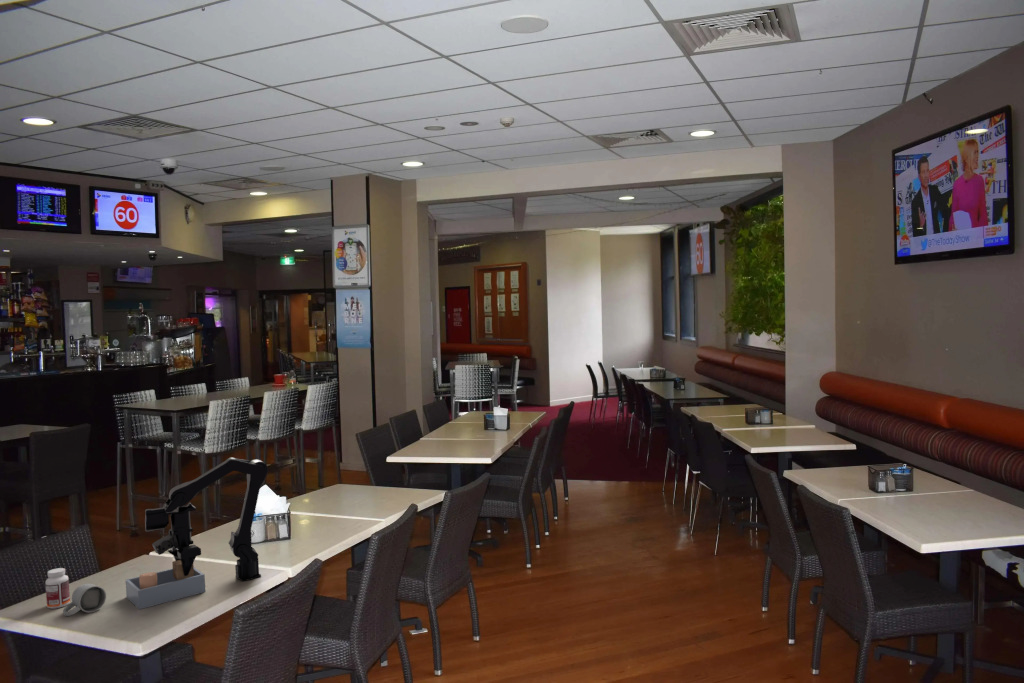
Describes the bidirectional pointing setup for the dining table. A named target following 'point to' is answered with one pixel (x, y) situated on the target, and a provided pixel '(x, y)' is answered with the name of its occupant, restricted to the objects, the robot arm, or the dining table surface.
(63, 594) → the pill bottle
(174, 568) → the walnut cube
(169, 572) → the tote
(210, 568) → the dining table surface
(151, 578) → the terracotta cylinder
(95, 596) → the ceramic mug
